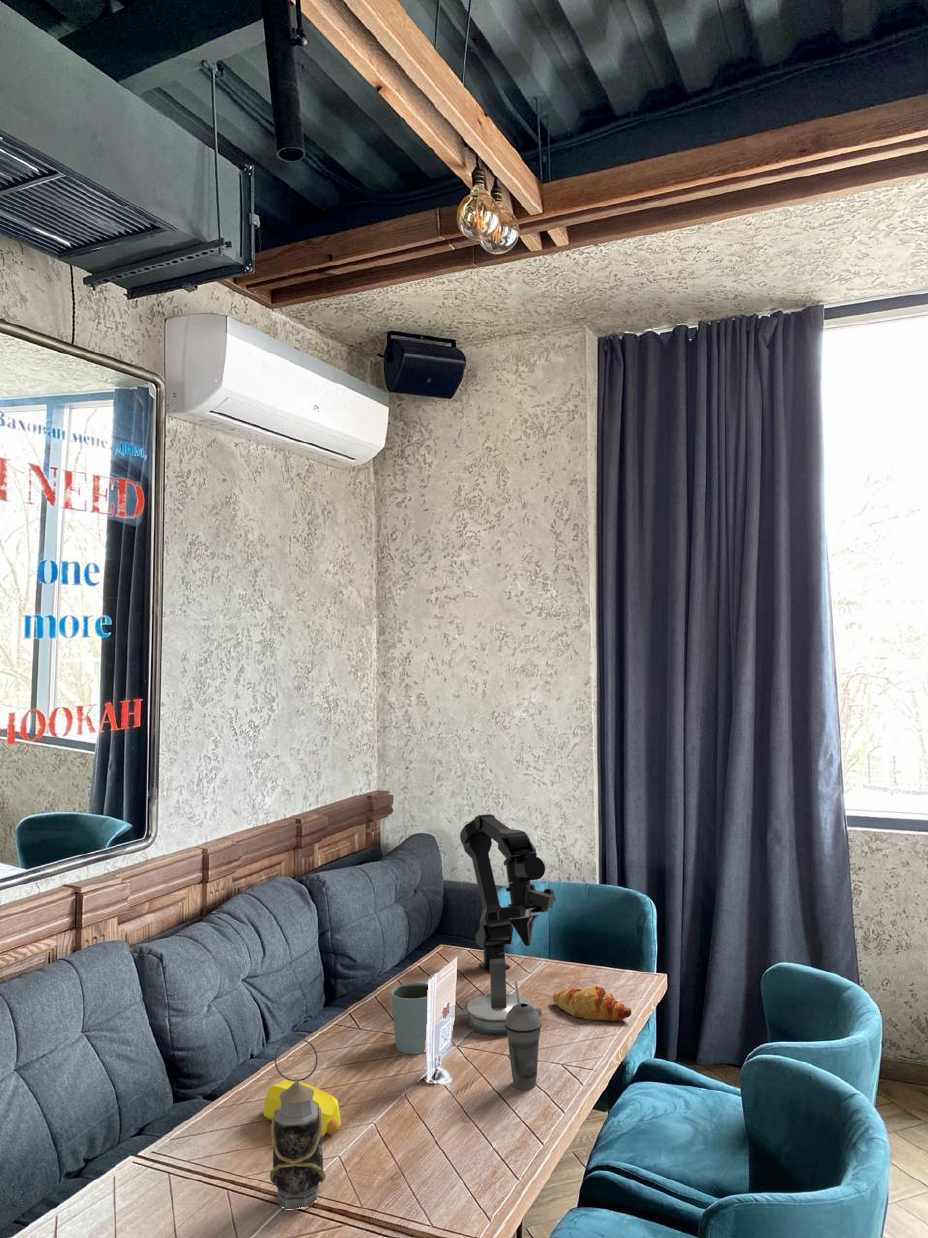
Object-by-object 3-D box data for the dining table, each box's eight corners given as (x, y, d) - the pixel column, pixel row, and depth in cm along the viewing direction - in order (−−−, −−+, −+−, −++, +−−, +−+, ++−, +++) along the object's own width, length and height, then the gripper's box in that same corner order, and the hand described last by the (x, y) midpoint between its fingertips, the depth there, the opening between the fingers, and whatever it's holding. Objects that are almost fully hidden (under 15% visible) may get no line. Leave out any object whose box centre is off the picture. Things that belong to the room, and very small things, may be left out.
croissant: (547, 1022, 222) (537, 997, 219) (565, 991, 229) (556, 966, 227) (627, 1041, 209) (617, 1014, 207) (643, 1007, 217) (634, 981, 214)
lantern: (329, 1183, 150) (326, 1027, 151) (323, 1213, 142) (320, 1048, 143) (275, 1186, 149) (272, 1029, 150) (266, 1216, 141) (263, 1050, 142)
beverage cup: (540, 1094, 178) (537, 989, 179) (503, 1091, 180) (500, 987, 181) (545, 1077, 185) (542, 976, 186) (509, 1075, 187) (506, 974, 188)
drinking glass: (417, 1060, 195) (416, 1002, 196) (382, 1048, 201) (380, 992, 202) (447, 1043, 203) (446, 988, 204) (412, 1033, 209) (411, 979, 210)
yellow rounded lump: (284, 1103, 178) (253, 1119, 172) (283, 1067, 178) (252, 1083, 172) (352, 1129, 167) (321, 1148, 161) (351, 1092, 167) (320, 1109, 161)
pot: (457, 1012, 220) (456, 1000, 220) (539, 1010, 220) (538, 998, 220) (456, 1037, 206) (456, 1023, 206) (544, 1034, 206) (543, 1021, 206)
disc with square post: (467, 997, 221) (466, 952, 221) (528, 996, 221) (526, 950, 221) (467, 1021, 206) (466, 972, 207) (532, 1020, 206) (531, 971, 207)
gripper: (533, 880, 226) (542, 947, 222) (561, 876, 242) (570, 938, 238) (492, 885, 230) (501, 951, 226) (523, 881, 247) (531, 942, 242)
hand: (527, 945), depth 233 cm, fingers closed
